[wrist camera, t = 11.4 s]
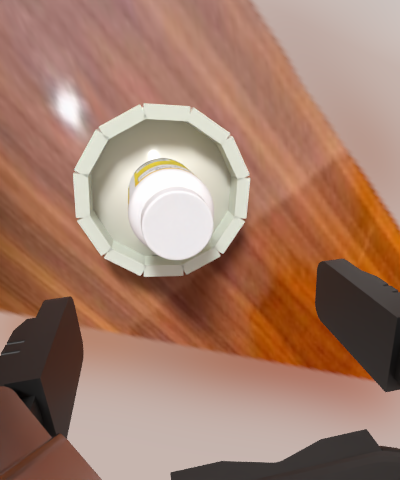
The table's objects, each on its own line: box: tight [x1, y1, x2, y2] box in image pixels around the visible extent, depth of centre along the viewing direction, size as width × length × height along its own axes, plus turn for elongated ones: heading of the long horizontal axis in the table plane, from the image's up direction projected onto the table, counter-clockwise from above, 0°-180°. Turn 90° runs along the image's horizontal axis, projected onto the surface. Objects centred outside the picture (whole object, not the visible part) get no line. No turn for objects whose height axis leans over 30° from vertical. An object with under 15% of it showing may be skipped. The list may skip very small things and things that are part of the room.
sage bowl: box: [73, 103, 250, 277], centre depth 27 cm, size 13×13×3 cm
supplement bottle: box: [128, 158, 214, 260], centre depth 23 cm, size 5×5×10 cm
